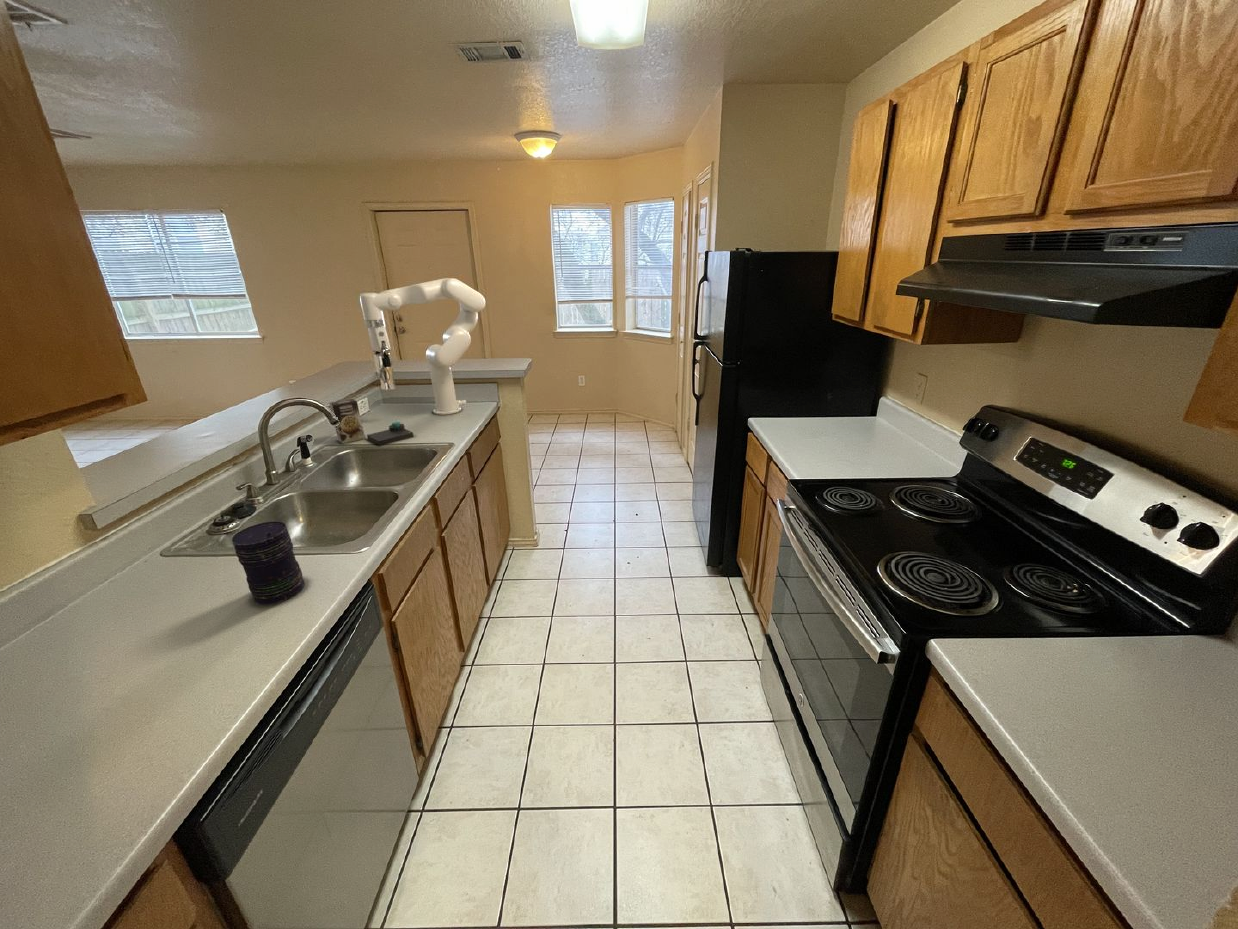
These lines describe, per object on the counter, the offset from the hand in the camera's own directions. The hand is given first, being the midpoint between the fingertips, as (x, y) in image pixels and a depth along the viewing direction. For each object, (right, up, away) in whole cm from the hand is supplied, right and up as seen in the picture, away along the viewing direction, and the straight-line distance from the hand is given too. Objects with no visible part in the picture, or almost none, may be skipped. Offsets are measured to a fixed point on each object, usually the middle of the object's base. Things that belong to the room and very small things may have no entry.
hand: (383, 365), depth 220 cm
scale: (+8, -32, -11) cm, 35 cm away
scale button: (+9, -27, -7) cm, 29 cm away
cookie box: (-8, -33, -11) cm, 36 cm away
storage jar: (+27, -72, -108) cm, 132 cm away
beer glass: (0, -10, +4) cm, 10 cm away
